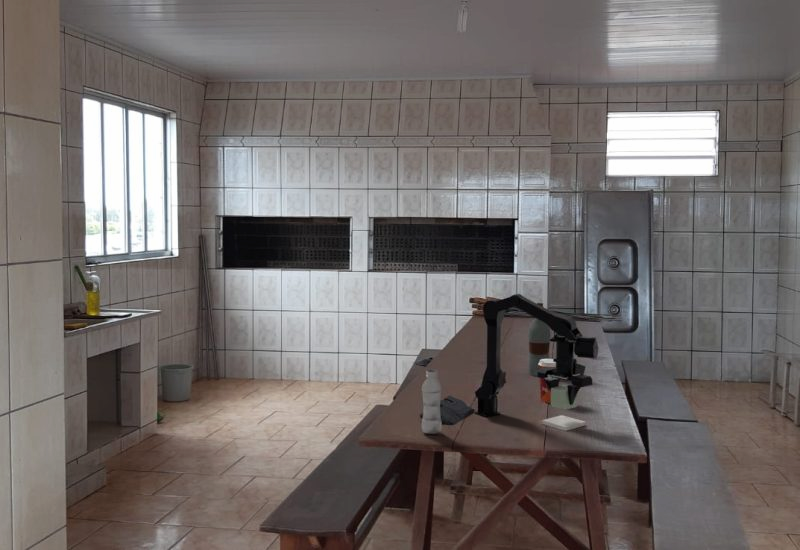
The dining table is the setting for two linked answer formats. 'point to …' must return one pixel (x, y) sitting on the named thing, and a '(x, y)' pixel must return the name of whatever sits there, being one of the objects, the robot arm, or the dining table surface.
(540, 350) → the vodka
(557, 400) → the cube
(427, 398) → the plastic bottle
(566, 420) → the tile
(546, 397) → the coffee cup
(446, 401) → the dark slate chunk
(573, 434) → the dining table surface
